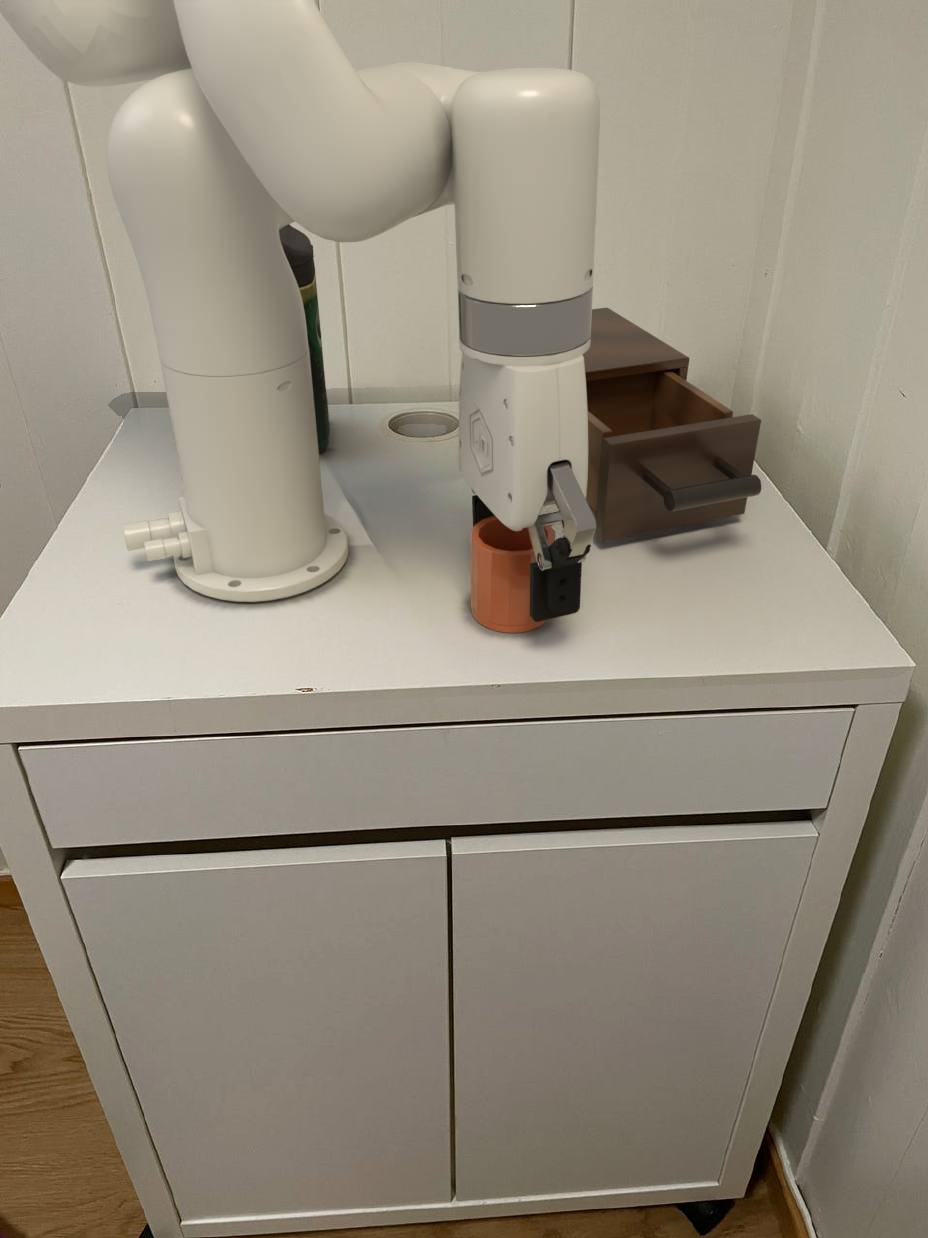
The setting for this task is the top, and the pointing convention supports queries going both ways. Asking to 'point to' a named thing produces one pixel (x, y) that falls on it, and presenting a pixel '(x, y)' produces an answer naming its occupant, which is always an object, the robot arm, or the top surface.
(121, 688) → the top surface
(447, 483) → the top surface
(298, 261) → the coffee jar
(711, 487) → the drawer
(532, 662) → the top surface
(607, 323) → the cabinet
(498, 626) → the cup
